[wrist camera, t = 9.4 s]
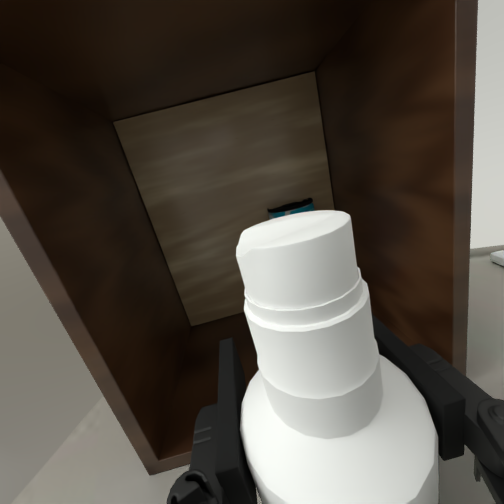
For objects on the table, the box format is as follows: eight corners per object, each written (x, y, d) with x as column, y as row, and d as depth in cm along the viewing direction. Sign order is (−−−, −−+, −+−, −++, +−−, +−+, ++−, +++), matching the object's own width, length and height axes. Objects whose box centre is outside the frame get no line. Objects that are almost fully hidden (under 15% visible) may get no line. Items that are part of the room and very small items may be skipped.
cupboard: (466, 382, 19) (484, -152, 10) (149, 475, 19) (-132, -10, 10) (349, 284, 38) (318, 61, 29) (187, 330, 37) (103, 115, 28)
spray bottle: (488, 658, 9) (544, 205, 4) (323, 726, 9) (132, 327, 4) (377, 463, 16) (340, 191, 10) (278, 497, 15) (188, 233, 10)
